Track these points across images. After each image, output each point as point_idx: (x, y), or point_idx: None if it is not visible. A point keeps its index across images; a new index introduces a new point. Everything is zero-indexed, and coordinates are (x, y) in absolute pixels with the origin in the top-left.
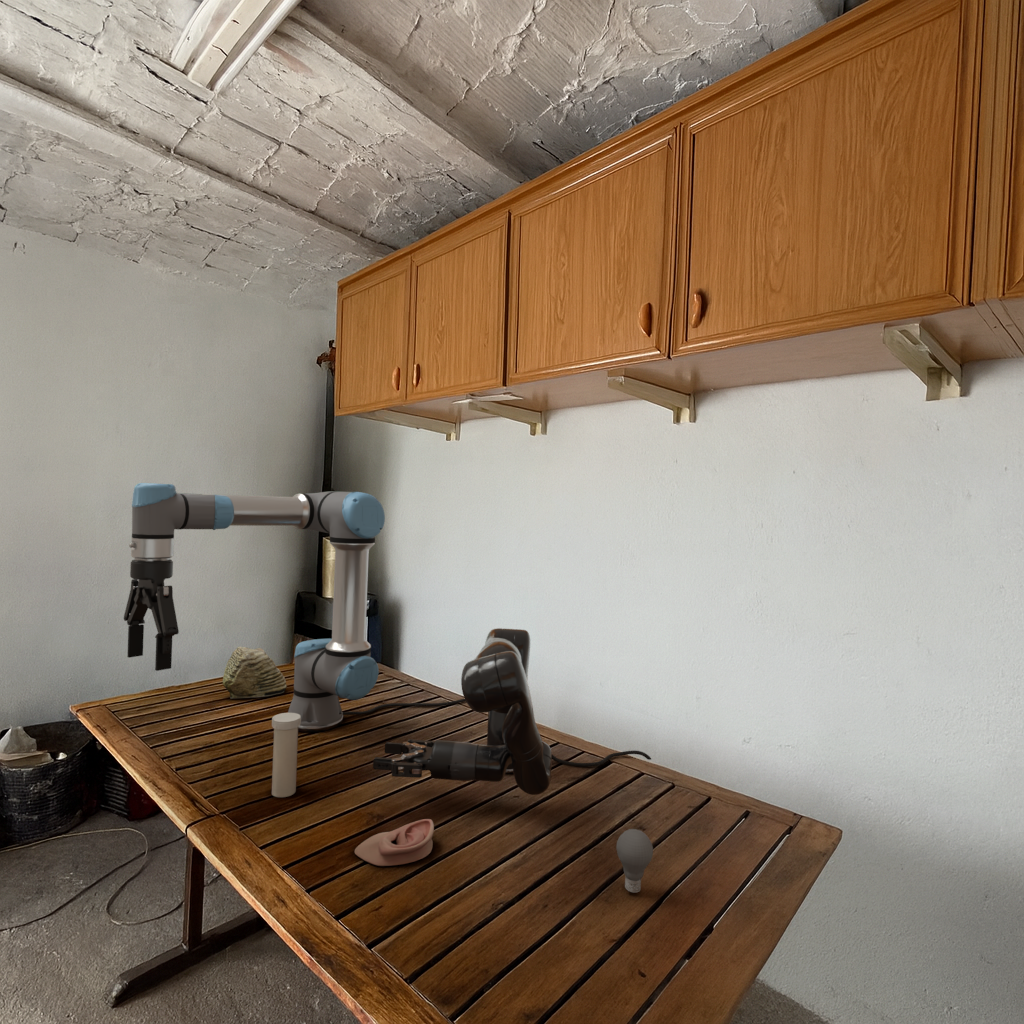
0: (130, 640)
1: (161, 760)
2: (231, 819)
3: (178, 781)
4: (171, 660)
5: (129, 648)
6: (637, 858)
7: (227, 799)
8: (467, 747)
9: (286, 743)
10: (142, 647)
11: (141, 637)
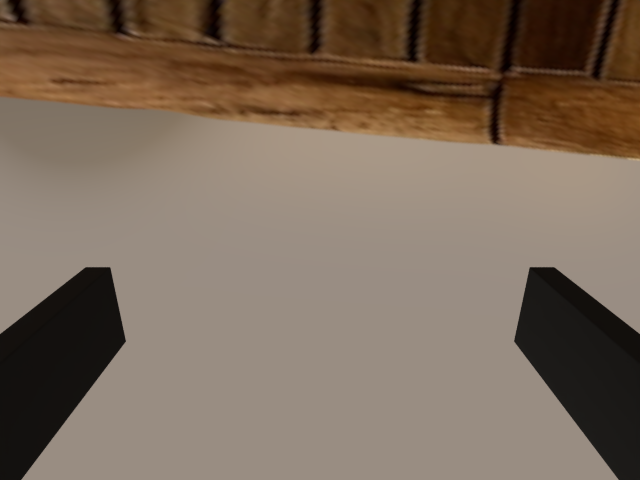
0: (58, 421)
1: (131, 40)
2: (546, 69)
3: (286, 66)
4: (585, 292)
5: (95, 380)
6: None
7: (459, 26)
8: None
9: None
10: (78, 298)
11: (28, 360)
